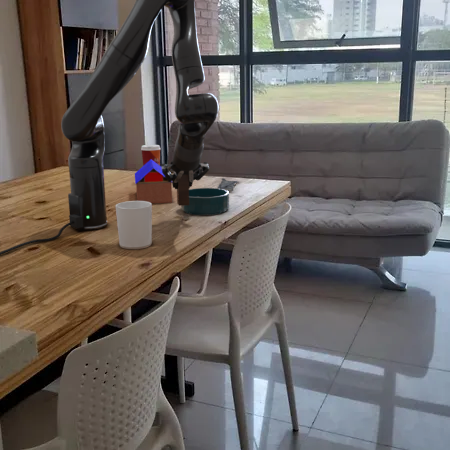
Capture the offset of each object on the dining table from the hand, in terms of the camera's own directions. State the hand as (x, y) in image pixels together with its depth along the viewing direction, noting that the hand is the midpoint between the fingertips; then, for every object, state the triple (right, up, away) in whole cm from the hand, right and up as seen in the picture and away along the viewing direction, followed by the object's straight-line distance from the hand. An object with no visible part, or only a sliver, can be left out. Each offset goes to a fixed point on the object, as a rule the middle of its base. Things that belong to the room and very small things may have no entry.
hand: (181, 186), depth 172 cm
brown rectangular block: (0, -5, -1) cm, 5 cm away
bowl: (+6, -7, +12) cm, 15 cm away
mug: (-10, -16, -23) cm, 30 cm away
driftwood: (+14, +3, +46) cm, 48 cm away
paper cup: (-16, +5, +59) cm, 61 cm away
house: (-12, -2, +31) cm, 33 cm away
